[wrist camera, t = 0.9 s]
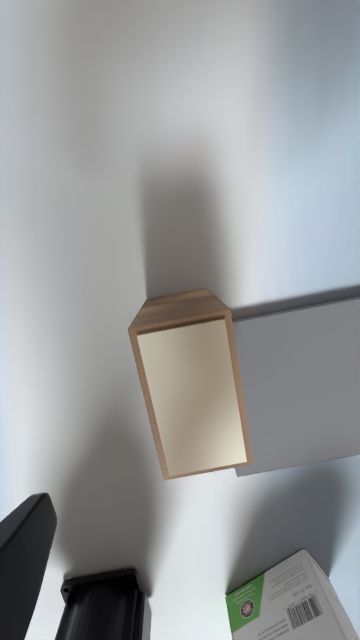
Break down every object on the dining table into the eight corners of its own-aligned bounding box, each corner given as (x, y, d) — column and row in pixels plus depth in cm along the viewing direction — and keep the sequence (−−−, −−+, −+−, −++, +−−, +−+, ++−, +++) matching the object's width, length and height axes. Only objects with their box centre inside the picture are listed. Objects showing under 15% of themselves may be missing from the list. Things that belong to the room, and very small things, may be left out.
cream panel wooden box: (166, 392, 19) (164, 483, 12) (146, 299, 18) (127, 330, 10) (220, 382, 19) (254, 466, 11) (204, 288, 18) (231, 310, 10)
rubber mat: (235, 468, 21) (237, 476, 20) (211, 324, 18) (212, 326, 18) (410, 436, 21) (419, 443, 20) (410, 286, 18) (421, 287, 18)
